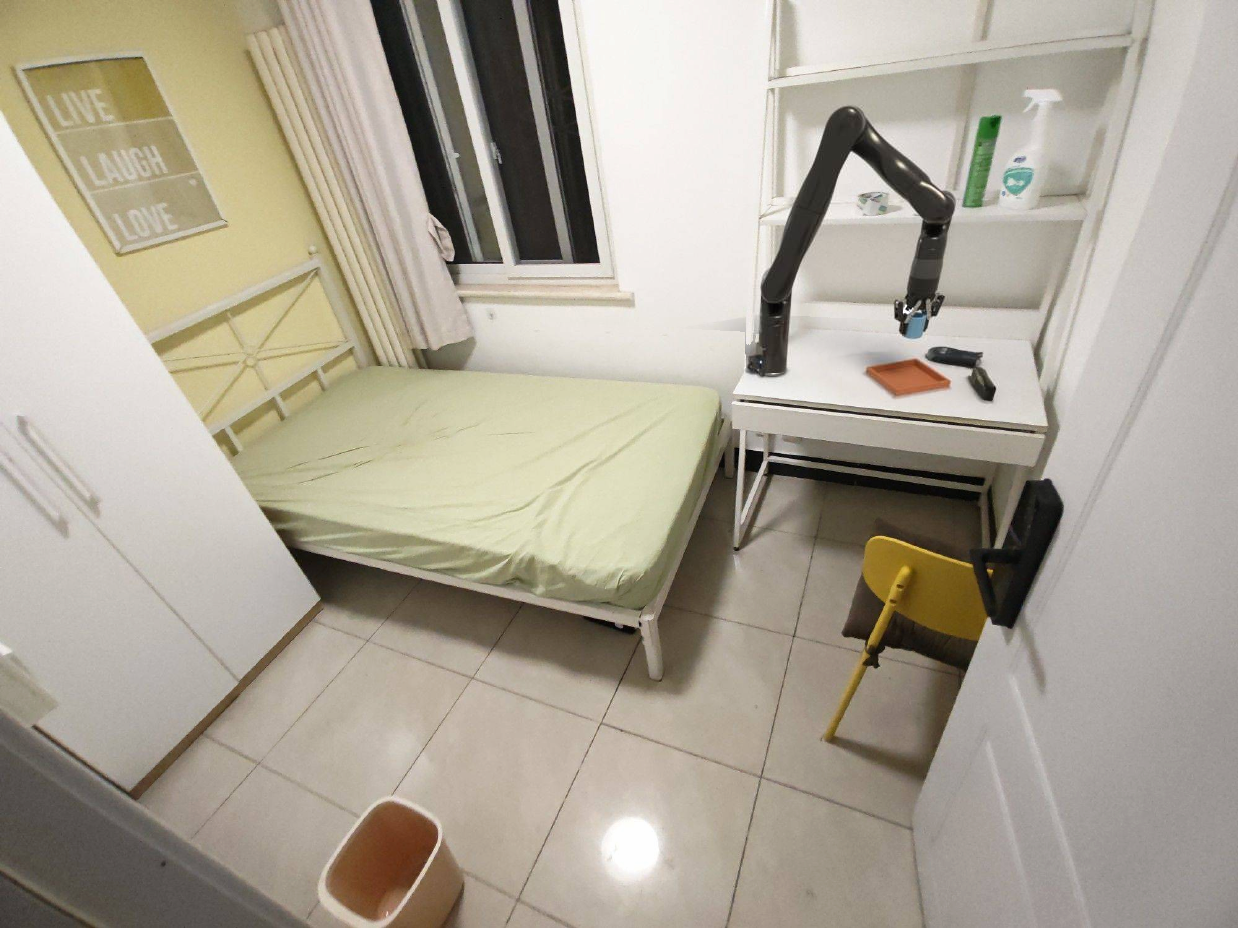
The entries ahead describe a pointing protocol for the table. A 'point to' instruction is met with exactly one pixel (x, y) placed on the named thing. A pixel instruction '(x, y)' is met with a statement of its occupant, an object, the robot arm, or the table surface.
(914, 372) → the tray
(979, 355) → the electronic device
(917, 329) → the blue hollow tube
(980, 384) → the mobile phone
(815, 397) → the table surface
